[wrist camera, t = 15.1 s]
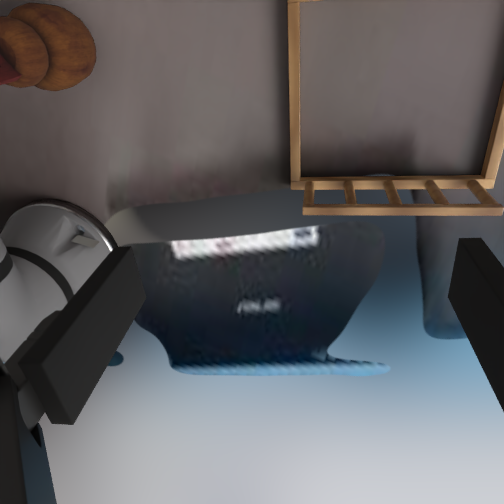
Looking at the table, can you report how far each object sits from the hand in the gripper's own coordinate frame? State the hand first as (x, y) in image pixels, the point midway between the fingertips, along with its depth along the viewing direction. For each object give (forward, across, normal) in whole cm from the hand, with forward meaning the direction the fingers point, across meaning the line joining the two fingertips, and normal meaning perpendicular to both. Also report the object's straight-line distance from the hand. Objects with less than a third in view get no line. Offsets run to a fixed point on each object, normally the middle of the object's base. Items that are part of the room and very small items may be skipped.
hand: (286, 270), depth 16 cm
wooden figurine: (+28, +22, -9) cm, 36 cm away
